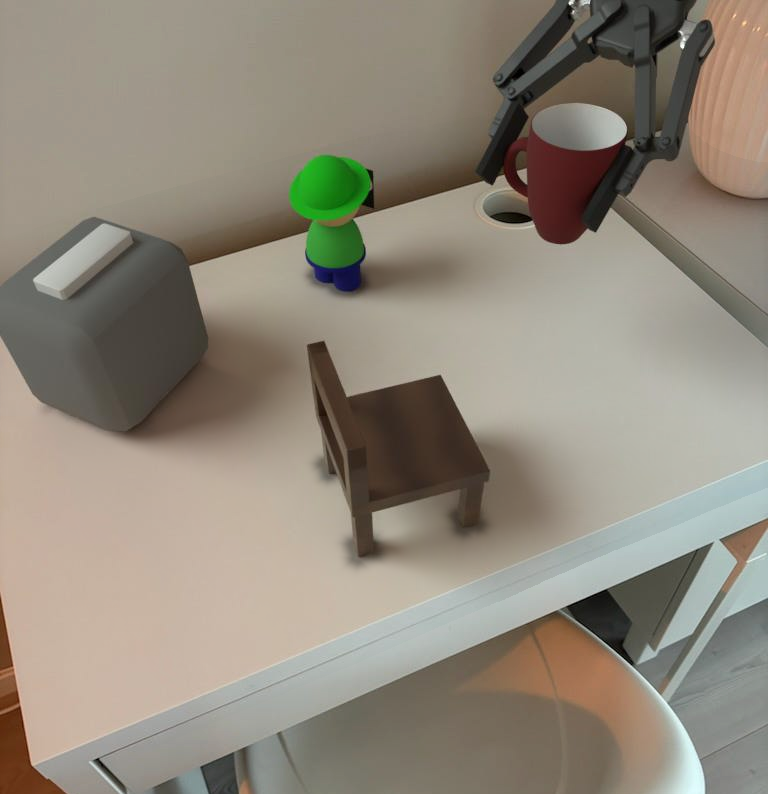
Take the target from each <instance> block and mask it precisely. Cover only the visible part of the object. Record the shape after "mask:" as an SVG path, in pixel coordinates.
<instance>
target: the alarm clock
mask: <svg viewBox="0 0 768 794" xmlns="http://www.w3.org/2000/svg"><path fill="white" fill-rule="evenodd" d="M0 338H1V340H2V342H3V344H4V345H5V347H6V349H7V351H8V352H9V355H10V356H11V358H12V360H13V361H14V364H15V365H16V367H17V369H18V371H19V372H20V374H21V376H22V378H23V380H24V381H25V383H26V385H27V386H28V389H29V390H30V392H31V394H32V396H34V398H36V399H37V400H38V401H39V402H40V403H42V404H45V405H47V406H49V407H51V408H54V409H56V410H59V411H61V412H62V413H64V414H65V413H66V414H68V415H70V416H72V417H74V418H77V419H80V420H81V421H84V422H86V423H89V424H91V425H93V426H96V427H98V428H101V429H102V430H105V431H111V432H127V431H129V430H130V429H132V428H134V427H135V426H137V425H138V424H140V423H141V422H142V421H143V420H144V419H145V418H146V417H147V416H149V414H150V413H151V412H152V411H153V410H154V409H155V408H156V406H158V405H159V403H160V402H161V401H162V400H163V399H164V398H165V397H167V395H168V394H169V393H170V392H171V391H172V390H173V389H174V388H175V387H176V386H177V384H179V382H180V381H182V380H183V378H184V377H185V376H186V375H187V374H188V373H189V372H190V371H191V370H192V369H193V368H194V366H196V365H197V364H198V363H199V361H200V360H201V359H202V358H204V356H205V355H206V353H207V350H208V348H209V335H208V332H207V327H206V324H205V319H204V317H203V312H202V309H201V305H200V302H199V297H198V293H197V290H196V286H195V283H194V279H193V275H192V272H191V267H190V263H189V260H188V258H187V256H186V254H185V252H184V251H183V249H182V248H180V247H179V246H178V245H176V244H175V243H173V242H171V241H168V240H166V239H164V238H161V237H157V236H156V235H155V236H154V235H152V234H149V233H145V232H142V231H140V230H137V229H133V228H130V227H127V226H124V225H121V224H118V223H114V222H112V221H109V220H106V219H103V218H101V217H97V216H91V217H89V218H85V219H84V220H82V221H81V222H79V223H78V224H77V225H75V226H74V227H73V228H72V229H70V230H69V231H68V232H65V234H64V235H63V236H61V237H60V238H59V239H57V240H56V241H55V242H54V243H52V244H51V245H50V246H49V247H47V248H46V249H45V250H43V251H42V252H41V253H39V254H38V255H37V256H36V257H34V258H33V259H32V260H31V261H29V262H28V263H26V264H25V265H24V266H23V267H22V268H20V269H19V270H18V271H16V272H15V273H14V274H12V275H11V276H10V277H9V278H8V279H6V280H5V281H4V282H3V283H2V284H1V286H0Z"/></svg>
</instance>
